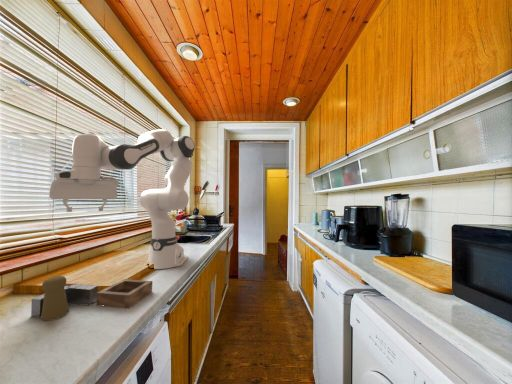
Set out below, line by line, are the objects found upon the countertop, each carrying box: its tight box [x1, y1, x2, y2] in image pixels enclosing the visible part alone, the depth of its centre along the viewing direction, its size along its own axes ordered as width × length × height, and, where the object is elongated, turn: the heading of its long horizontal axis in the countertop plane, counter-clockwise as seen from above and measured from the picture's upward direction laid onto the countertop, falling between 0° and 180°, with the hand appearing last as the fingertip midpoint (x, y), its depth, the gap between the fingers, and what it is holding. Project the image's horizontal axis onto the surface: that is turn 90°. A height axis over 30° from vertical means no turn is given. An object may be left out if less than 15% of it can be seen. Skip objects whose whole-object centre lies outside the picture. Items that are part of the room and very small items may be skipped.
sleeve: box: [95, 278, 153, 309], centre depth 73 cm, size 12×12×4 cm
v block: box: [30, 283, 99, 318], centre depth 68 cm, size 8×16×5 cm, turn 126°
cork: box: [40, 275, 70, 322], centre depth 62 cm, size 6×6×11 cm
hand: (85, 211), depth 82 cm, fingers open, 8 cm apart
